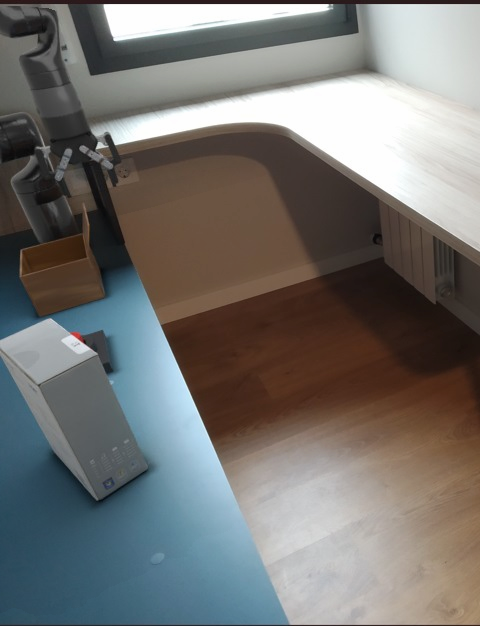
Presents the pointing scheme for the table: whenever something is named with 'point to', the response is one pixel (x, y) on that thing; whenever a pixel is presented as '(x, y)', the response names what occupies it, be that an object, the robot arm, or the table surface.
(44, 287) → the carton
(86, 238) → the flap
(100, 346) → the button block
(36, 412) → the hard drive box
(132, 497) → the table surface
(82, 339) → the button
